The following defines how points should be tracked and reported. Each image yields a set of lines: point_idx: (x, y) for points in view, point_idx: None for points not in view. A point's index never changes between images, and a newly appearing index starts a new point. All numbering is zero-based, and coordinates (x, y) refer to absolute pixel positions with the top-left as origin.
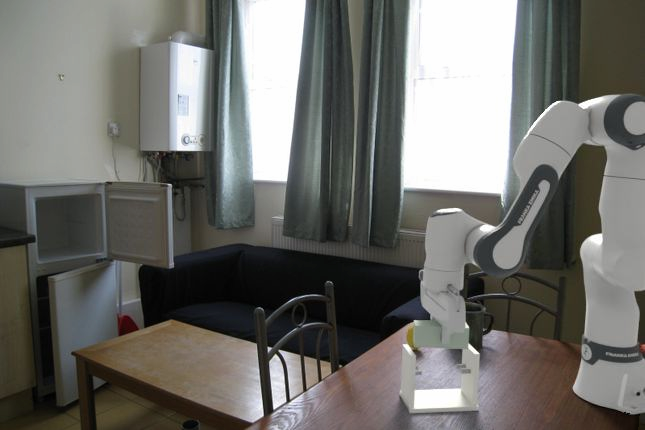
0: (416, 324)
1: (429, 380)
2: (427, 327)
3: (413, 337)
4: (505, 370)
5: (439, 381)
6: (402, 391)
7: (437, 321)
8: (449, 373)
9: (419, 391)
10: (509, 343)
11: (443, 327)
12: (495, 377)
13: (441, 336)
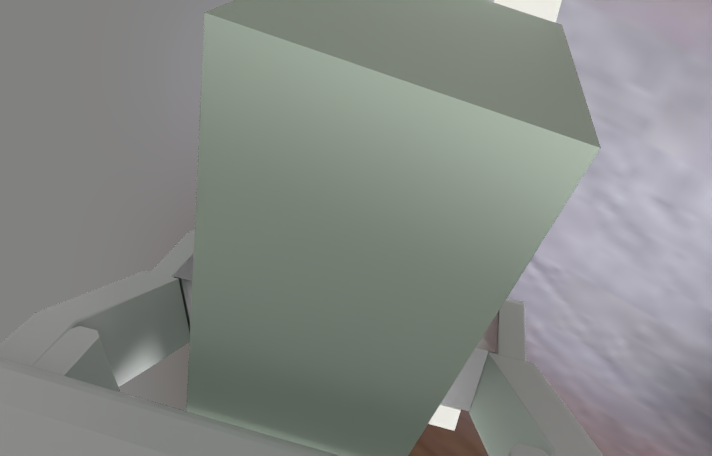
0: (285, 72)
1: (685, 147)
2: (208, 212)
3: (519, 24)
4: (609, 447)
5: (646, 189)
6: None
7: (401, 433)
8: (705, 275)
9: (537, 12)
10: None
11: (28, 344)
12: (571, 392)
13: (190, 270)
